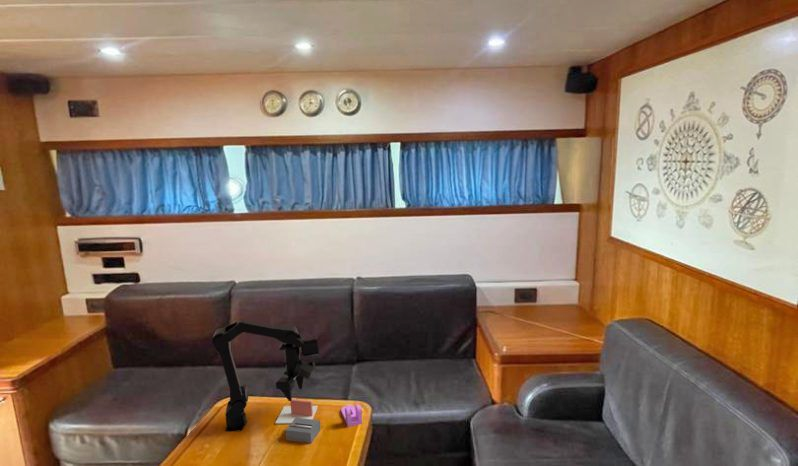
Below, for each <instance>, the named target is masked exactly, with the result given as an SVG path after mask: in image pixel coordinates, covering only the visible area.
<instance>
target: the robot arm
mask: <svg viewBox="0 0 798 466" xmlns="http://www.w3.org/2000/svg"><path fill="white" fill-rule="evenodd" d="M242 333H244V334H245V333H246V334H251V335H256V336H263V337H267V338H273V339H276V341H279V342H280V344H279V345H278V348H279V349H278V350H280V351H284V352H283V353H284V361H283V362H282V364H283V366H285V371H284V372H283V375H284V376H287V377H284V376H283V377H280V378H279V379H278V380H277V381H276V382H275V389H276V390H280V391H281V392H282V393H283V395H284V397H285V398H286V399H287V401H288V402H290V401H291V400H292V399H293V398H292V397H293V389H294V388H295V384H297V387H298V390H303V386H304V382H305V379H306V380H310V379H311V377H312V376H314V373H315V370H316V363H315V361H314V360H312V359H311V360H310V361H304V360H303V358H302V357H301V356H300V355H302V356H303V357H311V356H319V354H320V352H319V351H320V350H319V344H318V338H317V337H312V338H307V339H305V338H303V336H302V335H301V334H300V333H299V332H298V329H297V327H296V326H295V325H294V324H293V325H292V324H281V325H272V324H267V323H263V322H262V323H261V322H257V321H252V320H246V319H245V318H244V319H243V318H242V319H239V320H237V321H236V322H233V323H230V324H228V325H226V326H225V327H220V328H216V330H215V331H214V334H213V336H212V339H211V344H212V346H213V347H214V350H215V352H216V353H217V354H218V355H219V356H220V360H221V363H222V366H223V370H224V374H225V377H226V380H227V381H226V382H227V385H228V389H229V401H228V402H227V405H226V410H225V422H226V423H225V424H226V427H225V429H224V431H225V432H241V431H243V429H244V428H245V426H246V425H247V423H248V419H247V414H246V412H245V409H246V407H247V403H248V401H249V393H250V392H249V391H248V387H247V384H244V385H243V384H242V383H241V381H240V377H239V373H238V370H237V367H236V363H235V360H234V356H233V353H232V341H233V340H234V339H235V338H237V337H238V336H239V335H241V334H242ZM295 381H296V383H295Z"/></svg>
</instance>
